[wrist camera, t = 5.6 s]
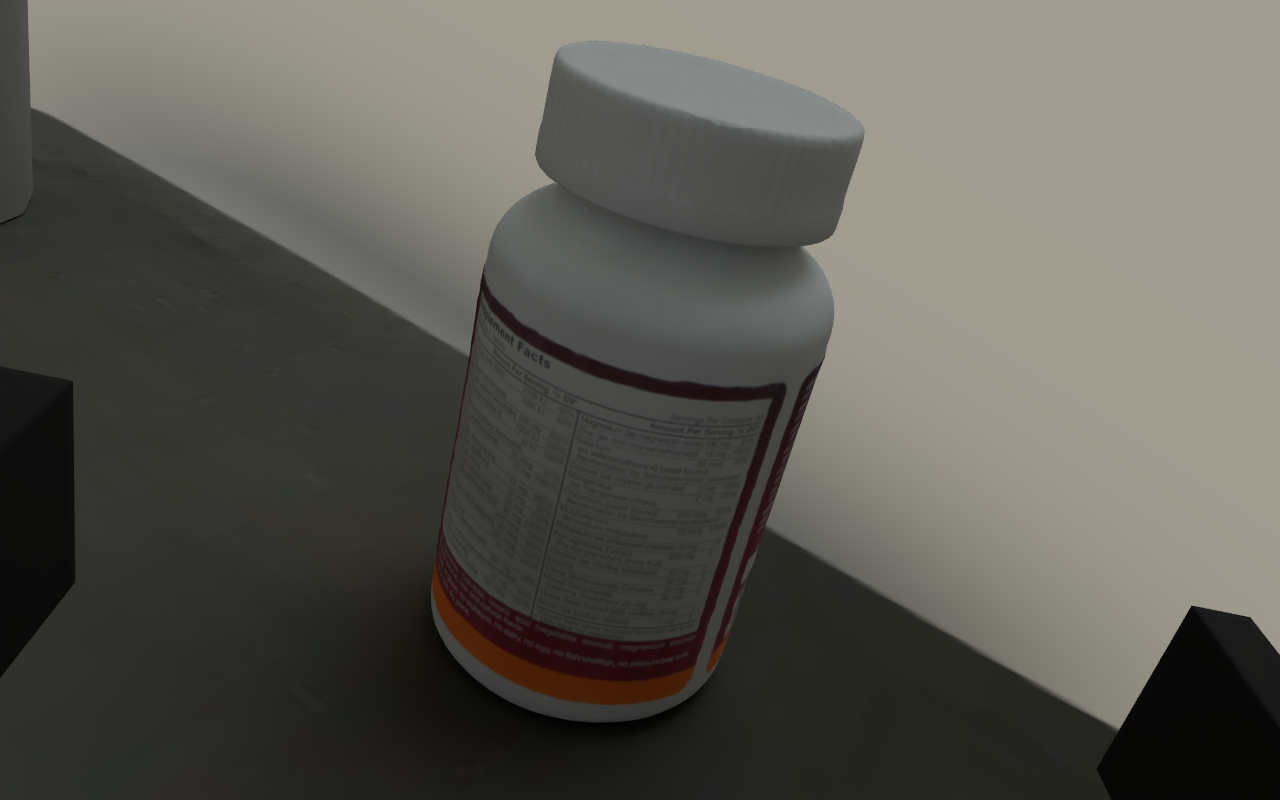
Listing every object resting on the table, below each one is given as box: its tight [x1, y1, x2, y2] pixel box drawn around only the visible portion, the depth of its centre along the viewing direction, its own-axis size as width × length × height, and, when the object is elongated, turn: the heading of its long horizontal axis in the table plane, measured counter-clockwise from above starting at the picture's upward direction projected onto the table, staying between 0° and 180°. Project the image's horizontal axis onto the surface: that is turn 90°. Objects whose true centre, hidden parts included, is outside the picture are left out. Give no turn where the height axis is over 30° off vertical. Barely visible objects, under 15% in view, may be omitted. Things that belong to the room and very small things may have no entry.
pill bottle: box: [431, 41, 864, 722], centre depth 20 cm, size 6×6×11 cm
